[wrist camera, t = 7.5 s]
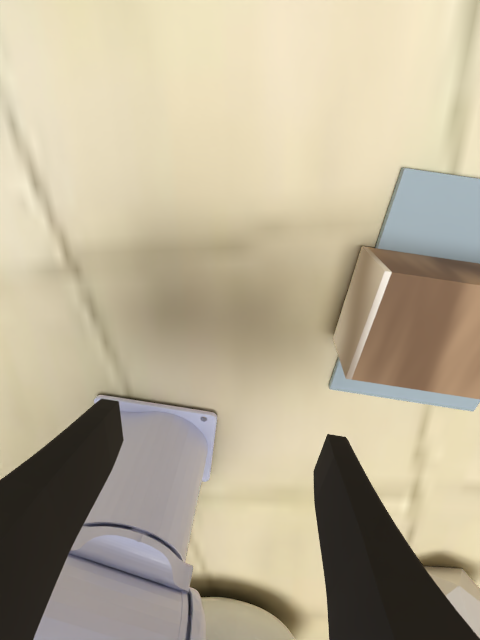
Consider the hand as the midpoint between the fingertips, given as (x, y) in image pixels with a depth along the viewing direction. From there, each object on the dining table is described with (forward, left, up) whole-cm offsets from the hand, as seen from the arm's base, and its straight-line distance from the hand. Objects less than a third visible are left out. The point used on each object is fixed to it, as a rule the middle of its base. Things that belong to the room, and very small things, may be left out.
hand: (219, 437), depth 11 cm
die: (+23, -27, -11) cm, 37 cm away
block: (+6, +2, -8) cm, 10 cm away
